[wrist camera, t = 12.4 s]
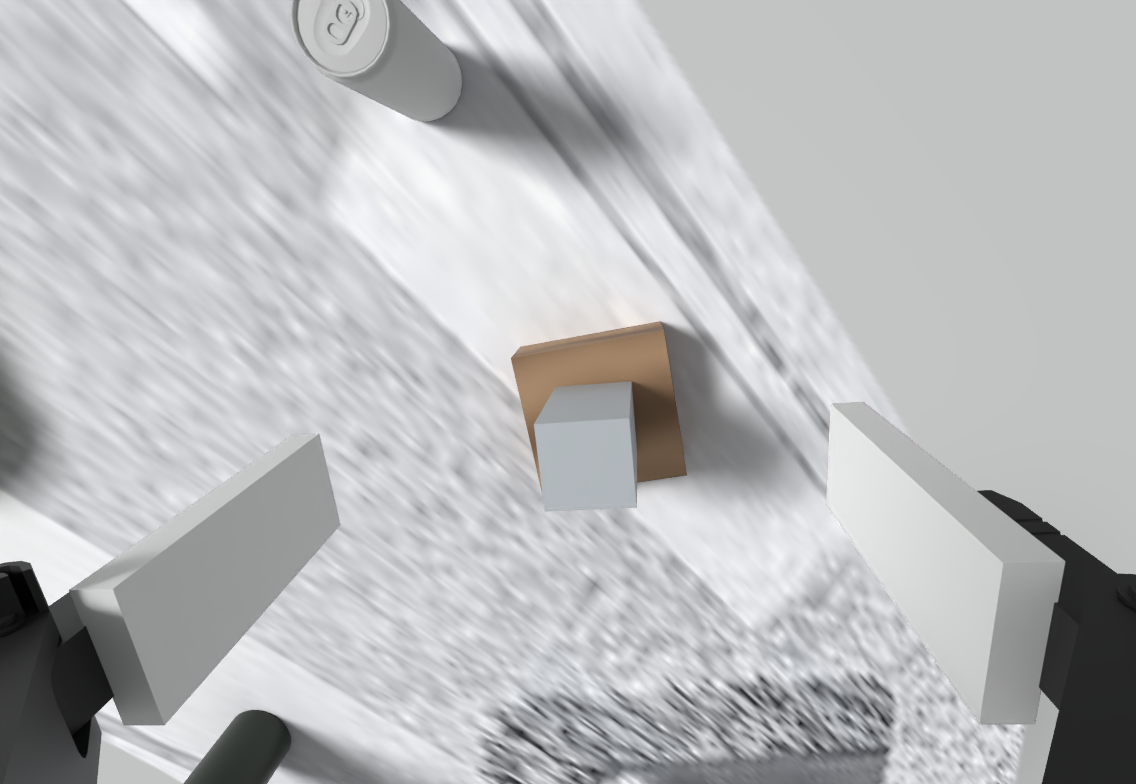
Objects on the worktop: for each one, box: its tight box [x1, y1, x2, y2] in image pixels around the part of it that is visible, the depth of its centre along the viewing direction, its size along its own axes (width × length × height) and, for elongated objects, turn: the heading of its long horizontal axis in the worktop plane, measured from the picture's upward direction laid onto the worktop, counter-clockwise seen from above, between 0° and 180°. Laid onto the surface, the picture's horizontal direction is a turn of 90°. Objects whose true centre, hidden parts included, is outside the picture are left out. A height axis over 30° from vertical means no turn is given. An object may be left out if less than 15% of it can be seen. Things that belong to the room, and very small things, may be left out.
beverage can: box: [290, 0, 462, 122], centre depth 31 cm, size 5×5×12 cm
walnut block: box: [511, 322, 687, 490], centre depth 40 cm, size 10×10×4 cm
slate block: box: [534, 381, 637, 511], centre depth 34 cm, size 5×5×8 cm
